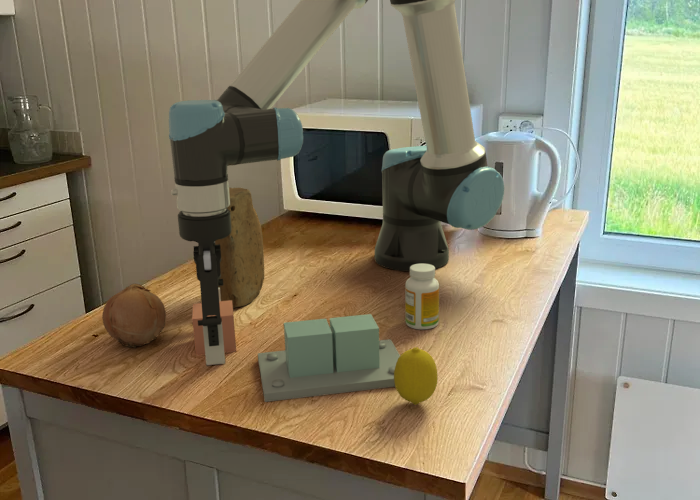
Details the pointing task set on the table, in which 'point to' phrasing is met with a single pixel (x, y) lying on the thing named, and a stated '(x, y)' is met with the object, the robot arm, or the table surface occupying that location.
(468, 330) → the table surface
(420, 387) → the lemon
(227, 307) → the brick block
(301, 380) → the build plate
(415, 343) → the table surface
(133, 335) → the onion
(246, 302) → the rough sandstone chunk
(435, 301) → the supplement bottle
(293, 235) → the table surface
